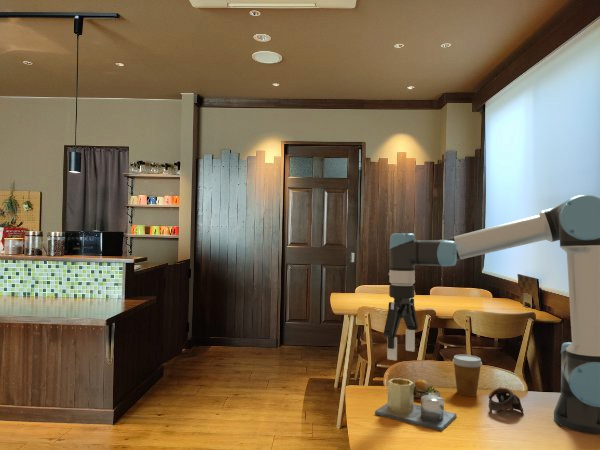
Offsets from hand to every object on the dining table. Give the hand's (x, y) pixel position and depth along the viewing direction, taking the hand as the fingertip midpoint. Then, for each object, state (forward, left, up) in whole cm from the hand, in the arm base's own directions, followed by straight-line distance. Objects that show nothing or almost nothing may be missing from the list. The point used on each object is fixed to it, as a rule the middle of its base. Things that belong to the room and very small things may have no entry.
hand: (401, 355), depth 147 cm
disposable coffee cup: (-11, -31, -17) cm, 37 cm away
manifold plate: (-5, 0, -17) cm, 18 cm away
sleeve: (0, 0, -16) cm, 16 cm away
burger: (0, -18, -18) cm, 25 cm away
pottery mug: (-25, -21, -17) cm, 37 cm away
